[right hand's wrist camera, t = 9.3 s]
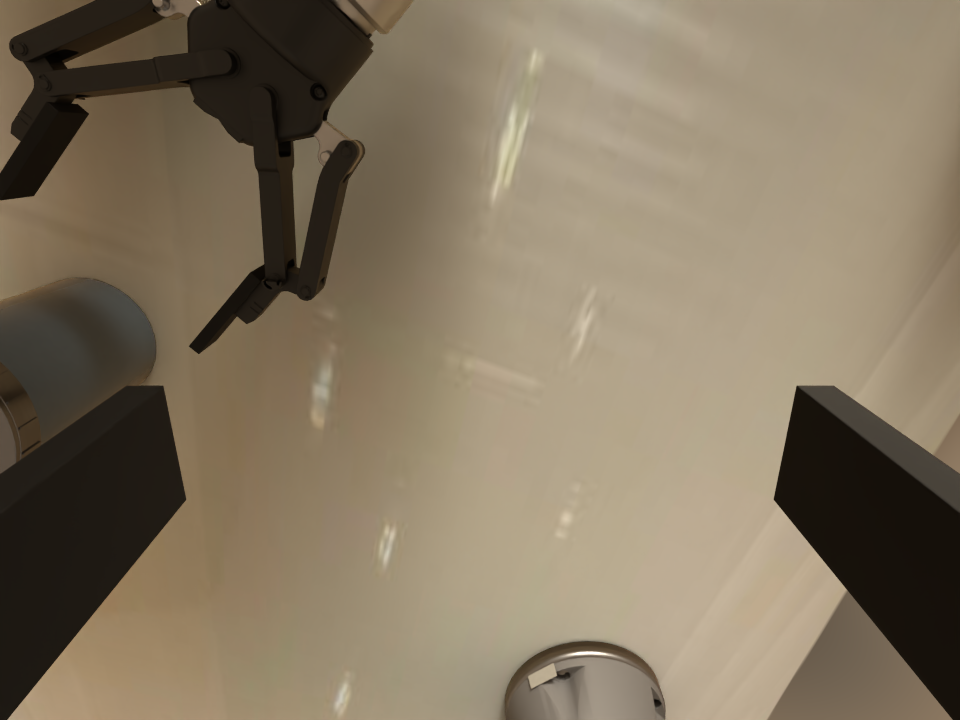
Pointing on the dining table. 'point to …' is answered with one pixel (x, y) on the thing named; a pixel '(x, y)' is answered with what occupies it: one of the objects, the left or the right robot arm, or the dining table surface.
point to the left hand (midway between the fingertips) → (111, 272)
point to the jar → (74, 347)
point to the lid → (16, 421)
